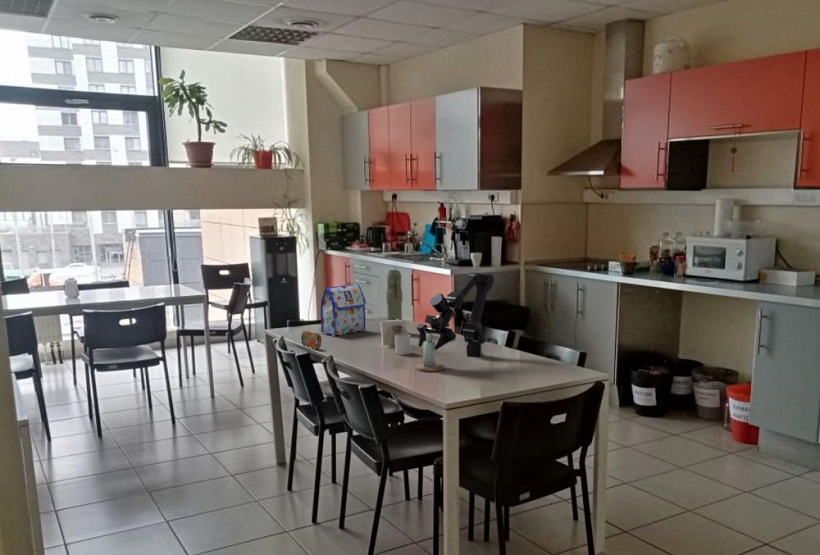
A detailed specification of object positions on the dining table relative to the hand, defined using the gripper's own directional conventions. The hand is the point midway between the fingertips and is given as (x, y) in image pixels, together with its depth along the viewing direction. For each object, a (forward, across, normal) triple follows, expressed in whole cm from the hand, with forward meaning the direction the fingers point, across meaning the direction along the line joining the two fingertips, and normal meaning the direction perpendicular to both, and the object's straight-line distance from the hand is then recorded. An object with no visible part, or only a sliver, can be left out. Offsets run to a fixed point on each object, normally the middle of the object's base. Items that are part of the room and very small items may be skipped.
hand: (427, 347), depth 279 cm
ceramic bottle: (+5, 0, +7) cm, 8 cm away
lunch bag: (-15, -90, +28) cm, 95 cm away
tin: (+11, -72, +3) cm, 73 cm away
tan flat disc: (+6, 0, +8) cm, 9 cm away
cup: (-4, -30, +18) cm, 35 cm away
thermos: (-27, -67, +41) cm, 83 cm away
